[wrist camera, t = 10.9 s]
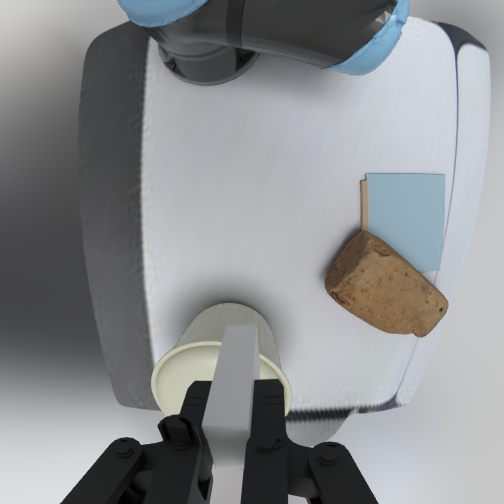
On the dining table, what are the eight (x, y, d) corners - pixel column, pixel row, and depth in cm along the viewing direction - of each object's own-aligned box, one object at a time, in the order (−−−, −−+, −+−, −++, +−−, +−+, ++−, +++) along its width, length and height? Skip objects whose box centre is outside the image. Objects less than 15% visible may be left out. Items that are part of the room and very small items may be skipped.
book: (360, 173, 43) (362, 174, 42) (443, 174, 42) (446, 175, 41) (359, 275, 48) (361, 278, 47) (438, 268, 47) (440, 270, 46)
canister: (242, 388, 56) (231, 478, 36) (162, 335, 53) (117, 417, 33) (308, 327, 51) (326, 419, 31) (221, 261, 48) (191, 335, 28)
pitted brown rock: (380, 238, 37) (457, 305, 41) (359, 221, 44) (435, 284, 48) (327, 304, 40) (413, 355, 45) (315, 278, 47) (396, 329, 51)
